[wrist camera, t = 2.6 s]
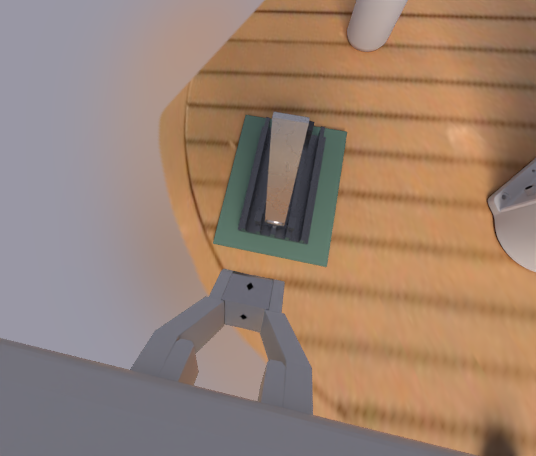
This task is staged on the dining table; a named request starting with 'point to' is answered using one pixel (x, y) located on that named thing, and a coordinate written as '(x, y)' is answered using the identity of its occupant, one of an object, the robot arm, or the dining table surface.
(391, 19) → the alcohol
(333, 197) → the circuit board
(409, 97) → the dining table surface
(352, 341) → the dining table surface
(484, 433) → the dining table surface
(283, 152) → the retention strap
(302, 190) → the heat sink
